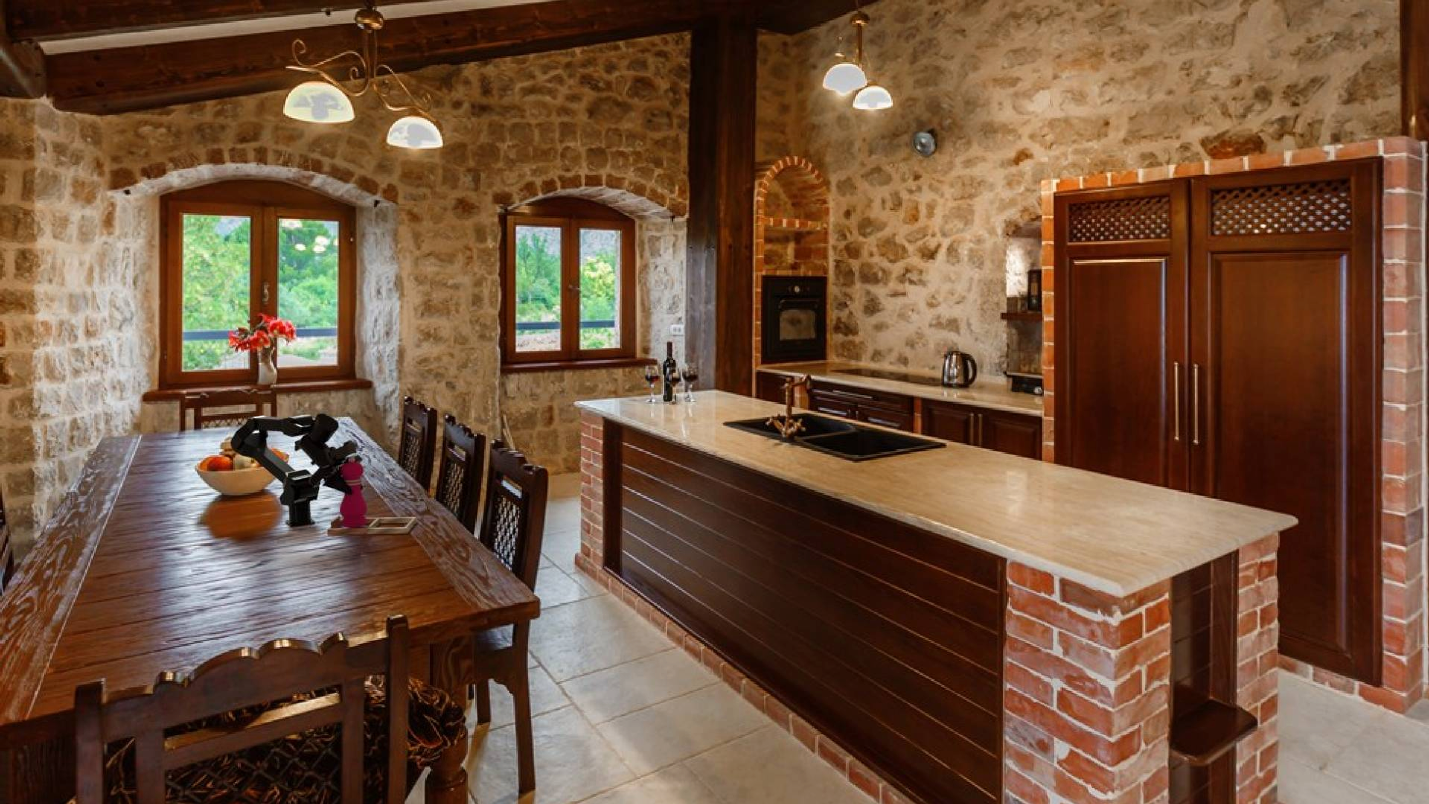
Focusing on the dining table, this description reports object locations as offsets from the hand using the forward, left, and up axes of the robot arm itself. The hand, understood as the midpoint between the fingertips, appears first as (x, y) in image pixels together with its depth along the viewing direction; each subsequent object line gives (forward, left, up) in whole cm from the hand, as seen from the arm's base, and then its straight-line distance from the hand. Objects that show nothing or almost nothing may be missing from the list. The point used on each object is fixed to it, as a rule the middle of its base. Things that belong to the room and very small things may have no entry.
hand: (357, 491), depth 232 cm
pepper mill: (-1, -1, -10) cm, 10 cm away
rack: (+2, +3, -11) cm, 12 cm away
